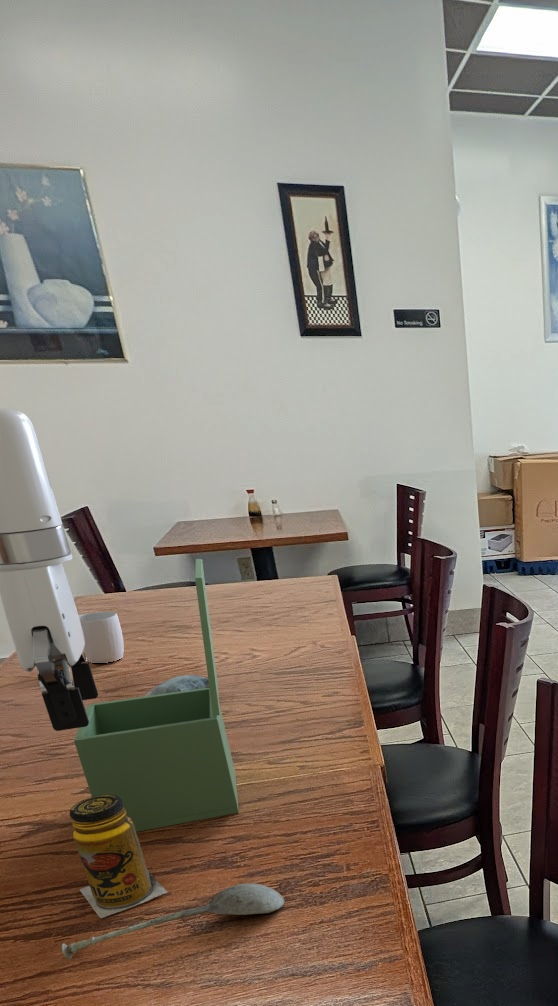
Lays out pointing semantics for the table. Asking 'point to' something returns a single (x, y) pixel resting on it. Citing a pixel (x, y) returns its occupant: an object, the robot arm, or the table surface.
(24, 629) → the robot arm
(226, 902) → the soupspoon
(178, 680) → the grey blue stone
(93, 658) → the mug
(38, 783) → the table surface
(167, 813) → the chest
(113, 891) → the condiment
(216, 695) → the lid
